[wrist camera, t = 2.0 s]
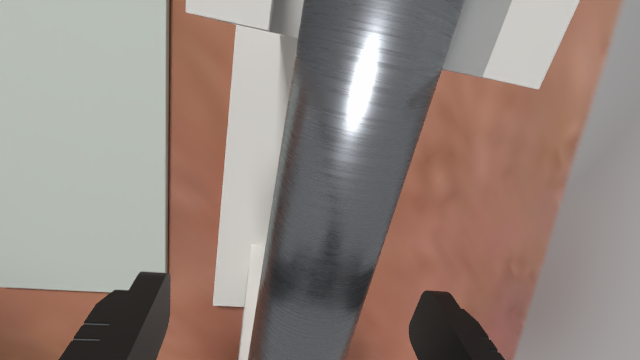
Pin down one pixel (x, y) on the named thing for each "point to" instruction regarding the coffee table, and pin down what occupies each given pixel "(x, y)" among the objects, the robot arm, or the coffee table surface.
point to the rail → (343, 165)
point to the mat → (83, 142)
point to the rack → (273, 93)
